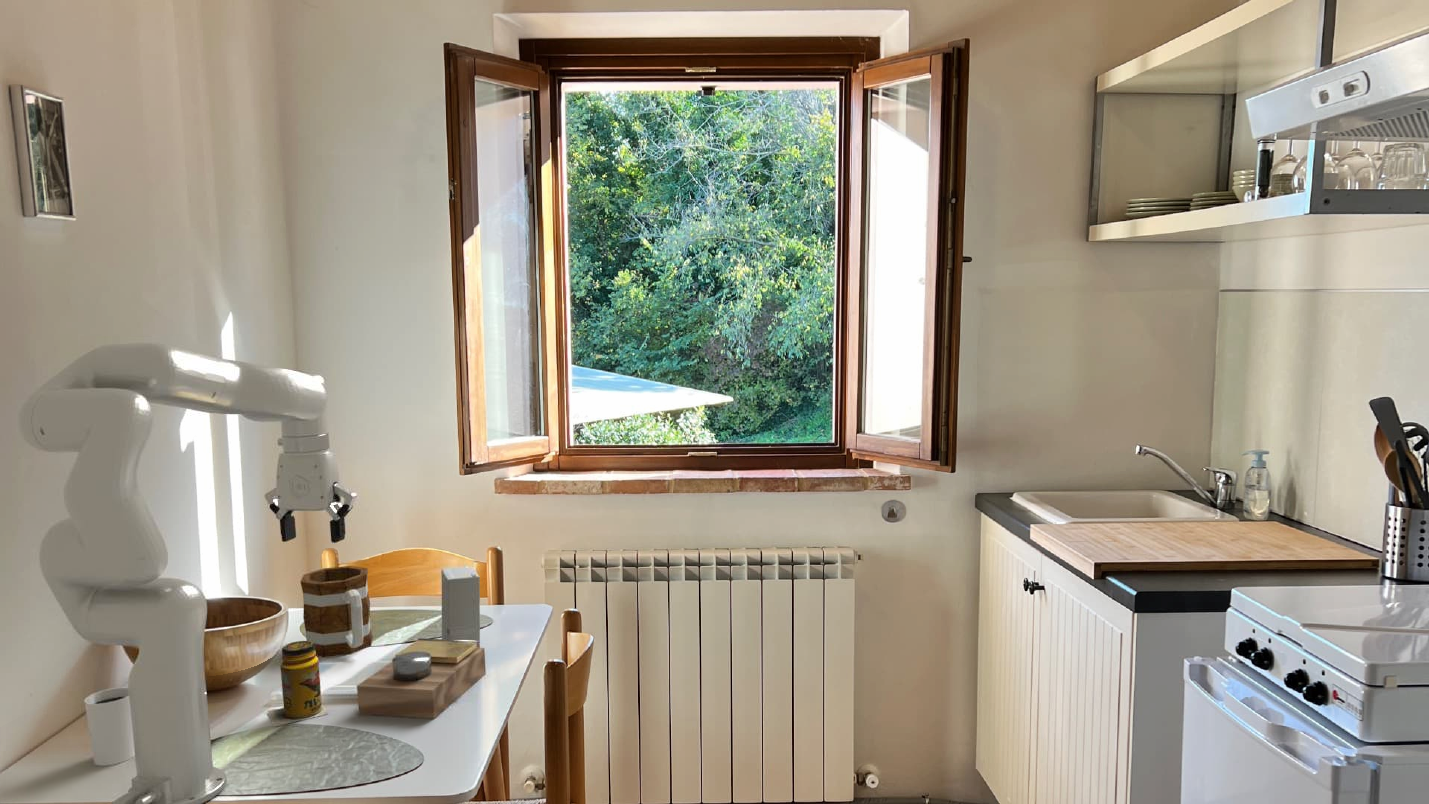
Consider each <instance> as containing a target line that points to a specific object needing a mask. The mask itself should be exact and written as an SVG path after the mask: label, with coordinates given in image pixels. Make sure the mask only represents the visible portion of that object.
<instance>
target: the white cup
mask: <svg viewBox="0 0 1429 804" xmlns="http://www.w3.org/2000/svg"><path fill="white" fill-rule="evenodd" d="M83 701H84V707H85V708H84V709H85V713H86V718H87V725H88V732H89V738H90V745H91V751H92V757H93V764H94V765H96V766H103V767H104V766H105V767H107V766H114V765H117V764H121V763H124V762H126V761H128V760H131V759H132V758H135V751H134V740H133V730H132V720H131V709H130V699H129V692H128V687H123V686H121V687H112V688H107V689H103V690H100V691H97V692H94V693H92V694H90V695H88V696H87V697H86V698H85V699H84V700H83Z"/></svg>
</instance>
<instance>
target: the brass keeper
mask: <svg viewBox="0 0 1429 804" xmlns="http://www.w3.org/2000/svg"><path fill="white" fill-rule="evenodd" d="M478 647H479V641H473V640H449V639H442V638H423V637H422V638H421V637H420V638H418V639H417V640H416V641H414V642H413V643H412V644H409V645H408V646H406V647H405V648H403V649H401V651H398V652H397V653H396V654H395V657H396V656H398V655H400V654H404V653H408V652H418V651H419V652H427V653H429V654H430V655H431V662H445V663H458V662H459V661H461V660H462V659H463V658H465V657H466V656H467V655H468V654H470V653H471V652H472V651H474V650H475V649H476V648H478Z"/></svg>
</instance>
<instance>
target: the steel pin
mask: <svg viewBox="0 0 1429 804" xmlns="http://www.w3.org/2000/svg"><path fill="white" fill-rule="evenodd" d="M391 662H392V666H393V678H394V680H396V681H400V682H411V681H419V680H421V679H424V678H426V677H428V676H429V675H431V673H432V670H431V655H430V654H429V653H427V652H419V651H418V652H408V653H404V654H400V655H398V656H395V657H393V658H392V659H391Z"/></svg>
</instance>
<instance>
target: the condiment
mask: <svg viewBox="0 0 1429 804" xmlns="http://www.w3.org/2000/svg"><path fill="white" fill-rule="evenodd" d="M315 655H316V652H315V644H314V643H313V642H311V641H306V640H298V641H293V642H290V643H287V644H285V645H284V646H282V648H281V660H282V661H281V664H280V679H281V691H282V701H283V707H281V708H274V709H270V710H267V714H268V716H269V718H270V720H271V722H272V724H273V725H274V727H278V726H282V725H286V724H290V723H293V722H300V721H304V720H308V719H309V720H310V719H312V718H317V717H321V716H325V715H327V714H328V713H329V712H328V711H327V709H326V708H325V706H324V705H323V703H322V687H321V678H320V676H321V675H320V663H319V658H318V656H315Z"/></svg>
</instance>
